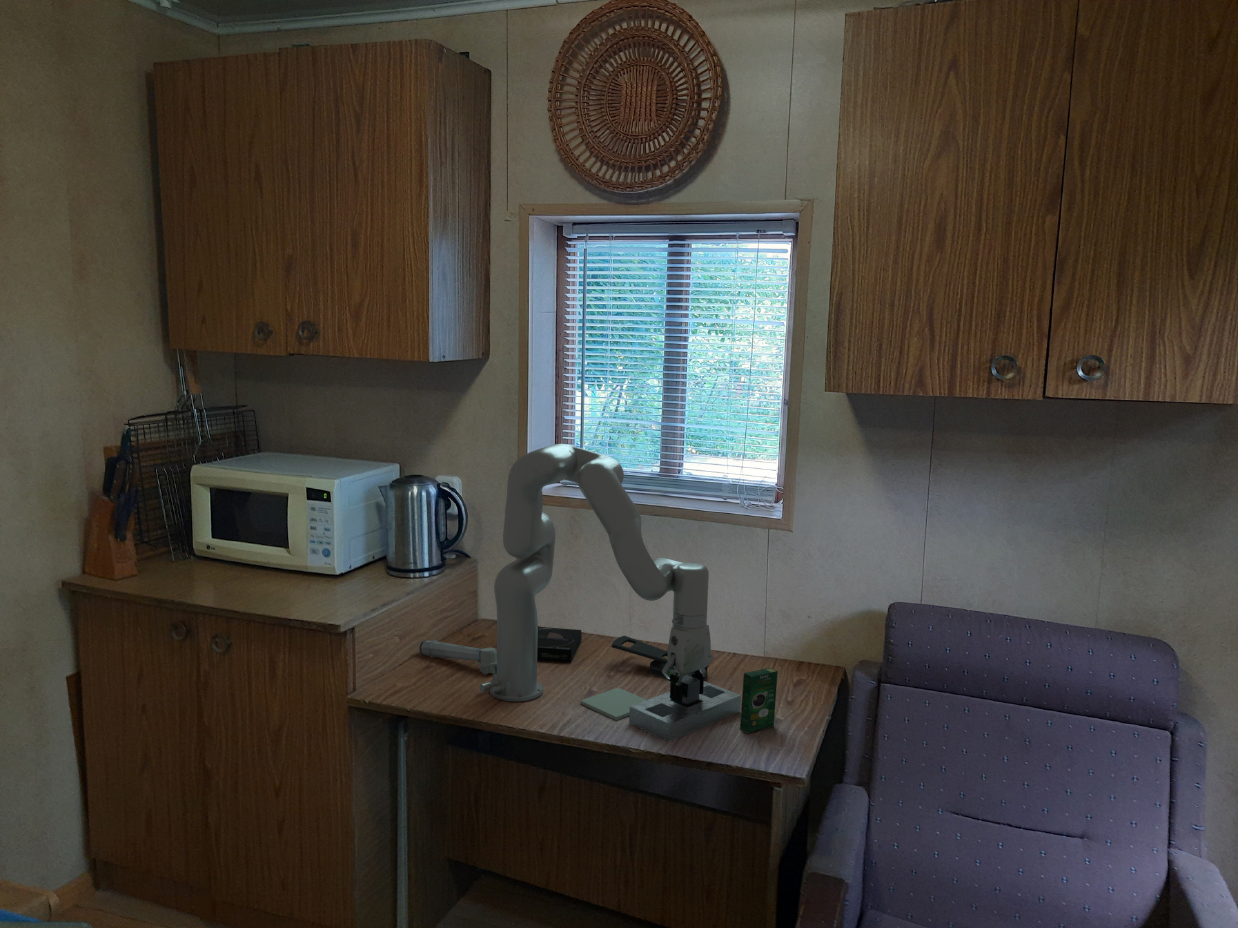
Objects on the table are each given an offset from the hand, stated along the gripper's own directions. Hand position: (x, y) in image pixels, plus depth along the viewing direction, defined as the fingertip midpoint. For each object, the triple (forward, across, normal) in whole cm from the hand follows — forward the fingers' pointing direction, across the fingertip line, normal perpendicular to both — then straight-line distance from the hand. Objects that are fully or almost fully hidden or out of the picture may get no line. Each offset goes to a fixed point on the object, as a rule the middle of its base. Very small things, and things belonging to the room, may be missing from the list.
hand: (686, 695), depth 205 cm
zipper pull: (+6, +16, +24) cm, 29 cm away
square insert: (+5, 0, 0) cm, 5 cm away
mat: (+5, -7, +15) cm, 17 cm away
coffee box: (+5, +8, -14) cm, 17 cm away
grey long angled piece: (+6, -20, +60) cm, 63 cm away
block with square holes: (+5, 0, 0) cm, 5 cm away
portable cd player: (+6, +4, +54) cm, 54 cm away
